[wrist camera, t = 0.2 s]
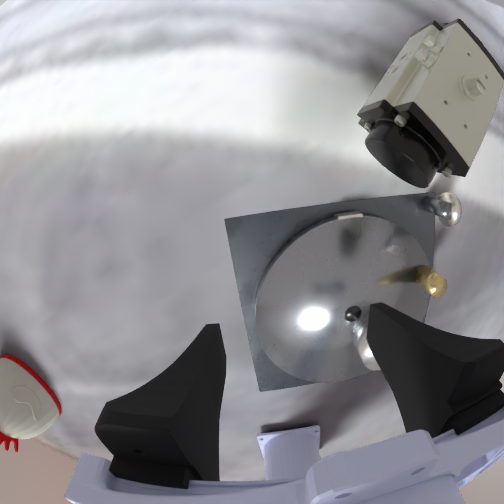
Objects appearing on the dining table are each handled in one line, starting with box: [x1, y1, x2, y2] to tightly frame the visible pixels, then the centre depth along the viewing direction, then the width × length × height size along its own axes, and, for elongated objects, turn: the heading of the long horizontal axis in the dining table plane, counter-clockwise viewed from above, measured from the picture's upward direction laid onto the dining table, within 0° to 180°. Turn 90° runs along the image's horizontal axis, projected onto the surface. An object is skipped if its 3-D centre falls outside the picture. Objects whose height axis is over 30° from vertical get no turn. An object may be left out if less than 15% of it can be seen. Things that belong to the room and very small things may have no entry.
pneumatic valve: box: [357, 19, 504, 188], centre depth 13 cm, size 6×12×12 cm, turn 146°
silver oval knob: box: [422, 192, 462, 226], centre depth 19 cm, size 3×2×4 cm, turn 9°
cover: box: [352, 312, 381, 371], centre depth 22 cm, size 5×5×4 cm
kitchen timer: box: [0, 355, 61, 452], centre depth 23 cm, size 14×14×15 cm
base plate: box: [225, 192, 435, 392], centre depth 24 cm, size 19×19×1 cm
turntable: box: [255, 211, 447, 383], centre depth 22 cm, size 17×17×4 cm
